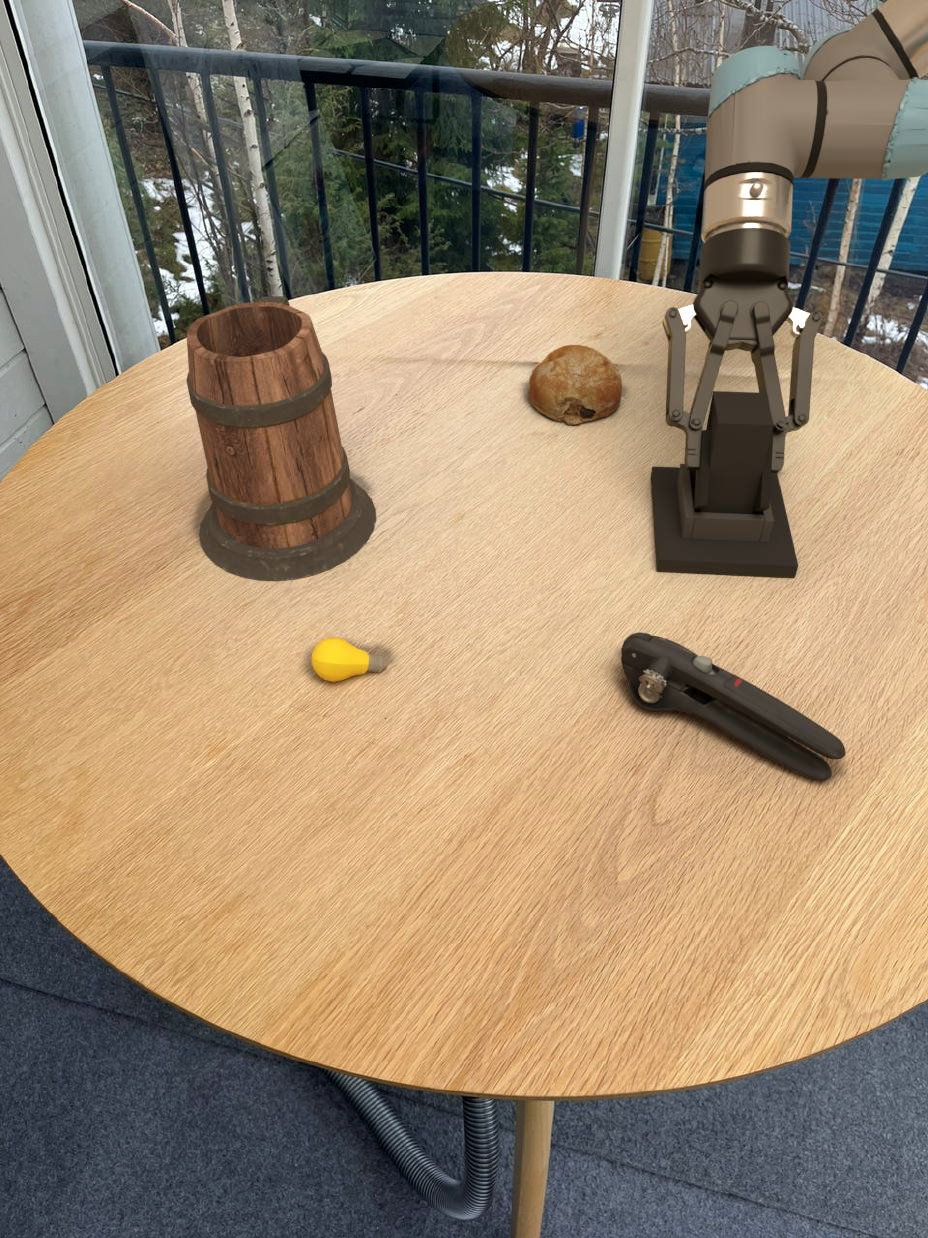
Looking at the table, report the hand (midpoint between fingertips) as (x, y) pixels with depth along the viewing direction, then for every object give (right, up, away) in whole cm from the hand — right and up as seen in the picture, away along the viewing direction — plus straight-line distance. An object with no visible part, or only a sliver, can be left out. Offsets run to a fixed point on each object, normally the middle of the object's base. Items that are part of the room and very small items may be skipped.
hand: (730, 508), depth 82 cm
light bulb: (-32, -14, -6) cm, 36 cm away
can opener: (-4, -18, -10) cm, 21 cm away
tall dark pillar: (0, 0, +5) cm, 5 cm away
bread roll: (-11, +14, +22) cm, 29 cm away
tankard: (-40, +2, +11) cm, 42 cm away
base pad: (+1, -1, +6) cm, 6 cm away
